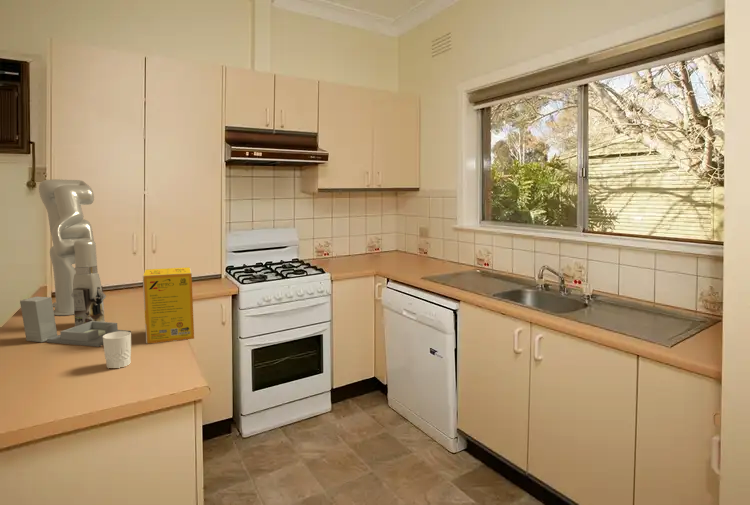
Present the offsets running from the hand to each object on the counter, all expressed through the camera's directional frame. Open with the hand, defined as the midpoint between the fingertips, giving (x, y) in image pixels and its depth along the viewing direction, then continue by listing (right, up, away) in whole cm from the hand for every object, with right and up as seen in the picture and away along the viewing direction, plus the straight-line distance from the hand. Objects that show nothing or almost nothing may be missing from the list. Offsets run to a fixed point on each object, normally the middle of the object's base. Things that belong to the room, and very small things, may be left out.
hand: (89, 313), depth 191 cm
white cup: (+36, -11, -43) cm, 57 cm away
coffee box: (0, -5, +1) cm, 5 cm away
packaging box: (+38, -7, -11) cm, 41 cm away
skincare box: (-7, -8, -18) cm, 21 cm away
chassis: (+10, -7, -16) cm, 20 cm away
